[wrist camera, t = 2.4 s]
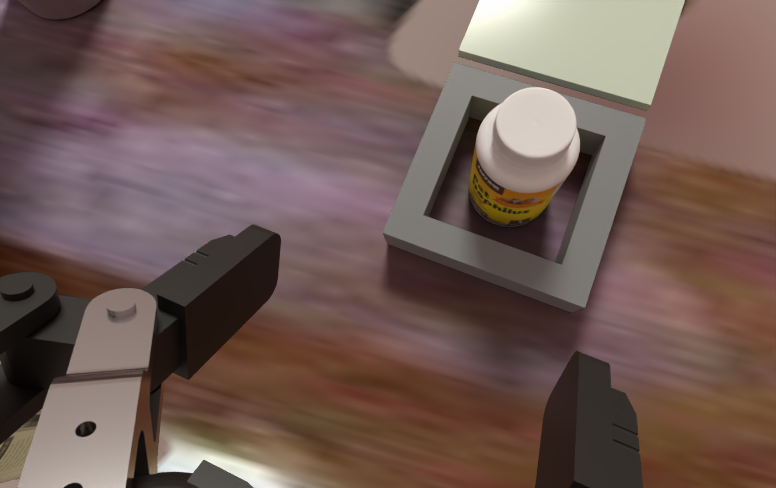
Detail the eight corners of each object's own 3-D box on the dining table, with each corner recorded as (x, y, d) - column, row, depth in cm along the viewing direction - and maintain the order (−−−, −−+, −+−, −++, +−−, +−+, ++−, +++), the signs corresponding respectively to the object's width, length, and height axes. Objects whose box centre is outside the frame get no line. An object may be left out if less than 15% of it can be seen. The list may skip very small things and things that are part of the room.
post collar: (387, 244, 34) (382, 232, 31) (453, 86, 36) (454, 62, 33) (571, 313, 32) (585, 307, 29) (628, 139, 34) (646, 118, 31)
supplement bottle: (452, 204, 34) (457, 138, 24) (494, 141, 35) (515, 53, 25) (523, 245, 33) (558, 193, 23) (564, 179, 34) (615, 102, 24)
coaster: (458, 56, 37) (458, 49, 36) (518, -88, 39) (520, -97, 39) (646, 110, 34) (650, 104, 34) (697, -47, 37) (703, -56, 36)
